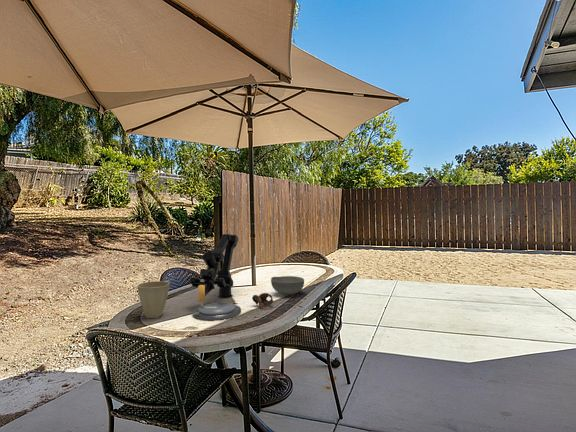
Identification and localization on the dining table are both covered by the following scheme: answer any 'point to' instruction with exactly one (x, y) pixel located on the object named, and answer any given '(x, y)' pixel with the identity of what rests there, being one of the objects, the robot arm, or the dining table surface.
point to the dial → (213, 305)
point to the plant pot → (153, 297)
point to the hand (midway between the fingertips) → (203, 296)
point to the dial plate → (216, 317)
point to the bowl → (287, 284)
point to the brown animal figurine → (262, 300)
